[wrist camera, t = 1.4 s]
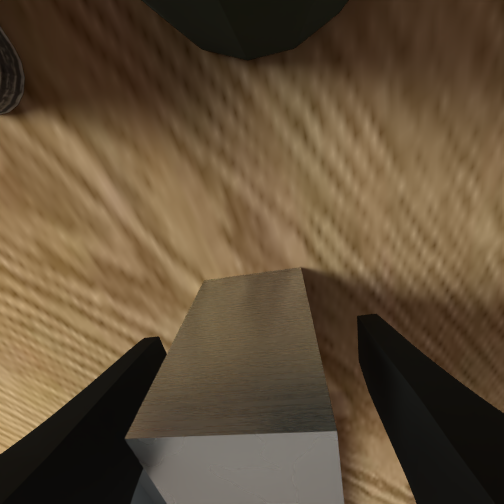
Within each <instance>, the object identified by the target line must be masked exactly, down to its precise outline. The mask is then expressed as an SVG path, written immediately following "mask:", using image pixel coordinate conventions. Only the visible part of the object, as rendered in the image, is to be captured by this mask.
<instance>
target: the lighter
mask: <svg viewBox="0 0 504 504" xmlns="http://www.w3.org/2000/svg"><path fill="white" fill-rule="evenodd" d="M24 79H25V77H24V73H23V68H22V63H21V60H20V58H19V56H18V54H17V52H16V50H15V48H14V46H13V45H12V43H11V42H10V40H9V39H8V37H7V36H6V34H5V33H4V31H3V30H2V28H1V27H0V114H4V113H8V112H10V111H11V110H12V109H14V108H15V107H16V106H17V105H18V104H19V101H20V99H21V97H22V95H23V92H24Z"/></svg>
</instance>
